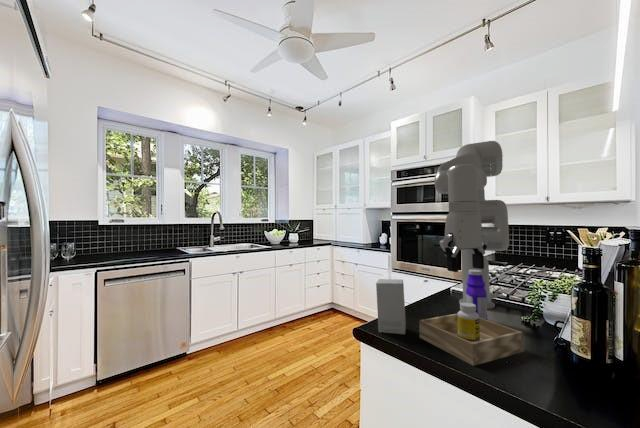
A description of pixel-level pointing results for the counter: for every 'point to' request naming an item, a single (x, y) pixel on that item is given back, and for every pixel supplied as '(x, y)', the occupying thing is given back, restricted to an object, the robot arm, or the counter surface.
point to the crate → (490, 347)
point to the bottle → (477, 292)
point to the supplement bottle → (468, 322)
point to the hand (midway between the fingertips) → (465, 269)
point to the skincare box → (391, 306)
